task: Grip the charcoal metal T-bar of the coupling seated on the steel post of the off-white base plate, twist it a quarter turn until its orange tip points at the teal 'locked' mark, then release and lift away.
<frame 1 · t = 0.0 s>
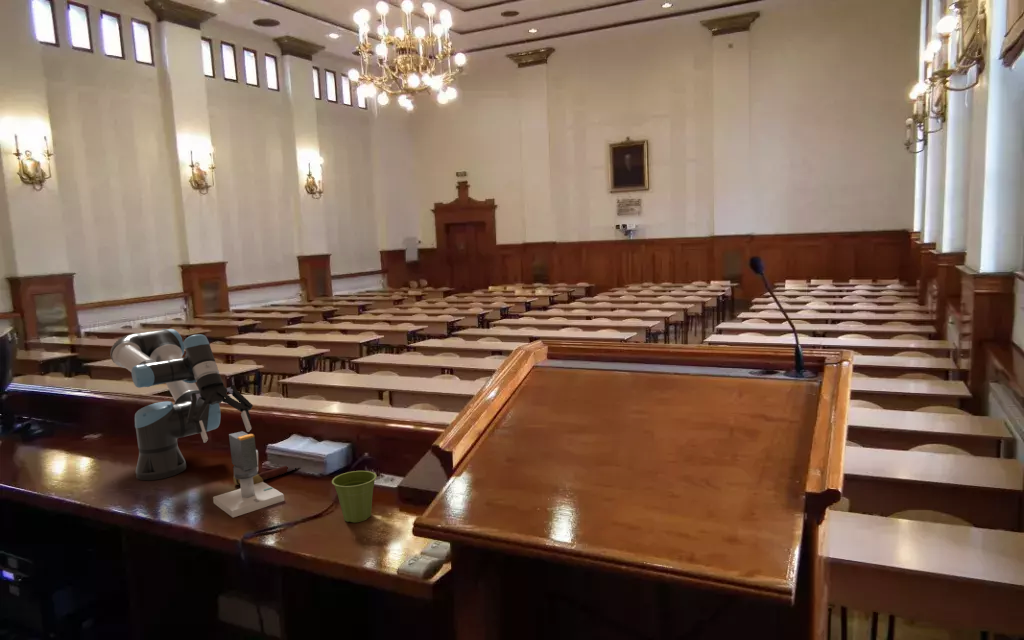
hand: (228, 435, 210), 15 cm above the table, tool tilted 35°, fingers open, 13 cm apart
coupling: (243, 454, 192), point 15 cm above the table, hinge at 0.0°
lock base: (248, 501, 194), on the table
shot glass: (249, 473, 219), on the table
plant pot: (357, 518, 180), on the table
gavel: (272, 479, 213), on the table
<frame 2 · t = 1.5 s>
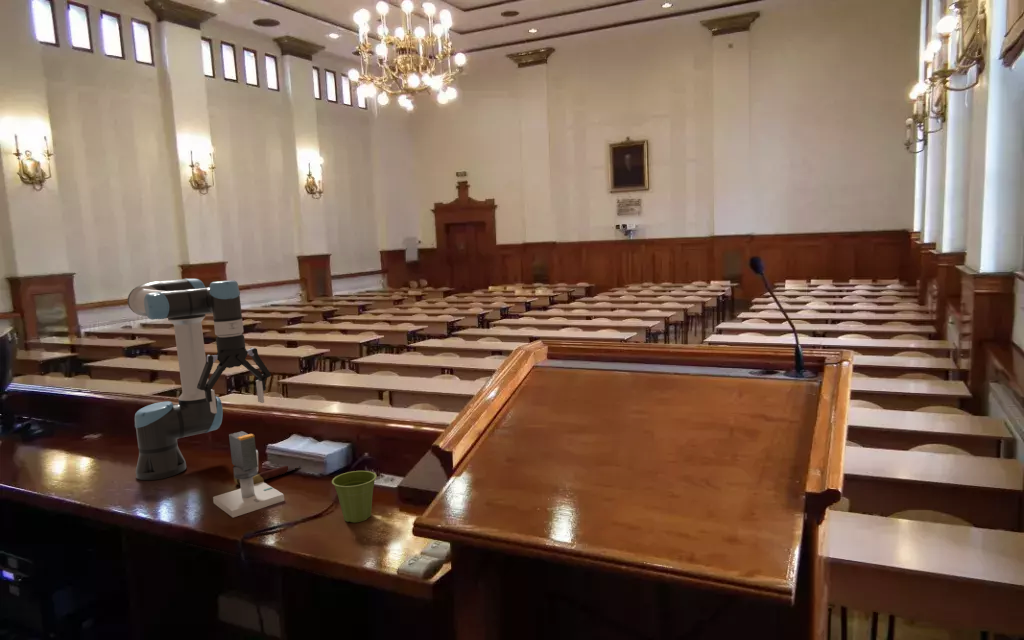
hand: (238, 407, 190), 29 cm above the table, tool pointing down, fingers open, 13 cm apart
nothing on the table moved.
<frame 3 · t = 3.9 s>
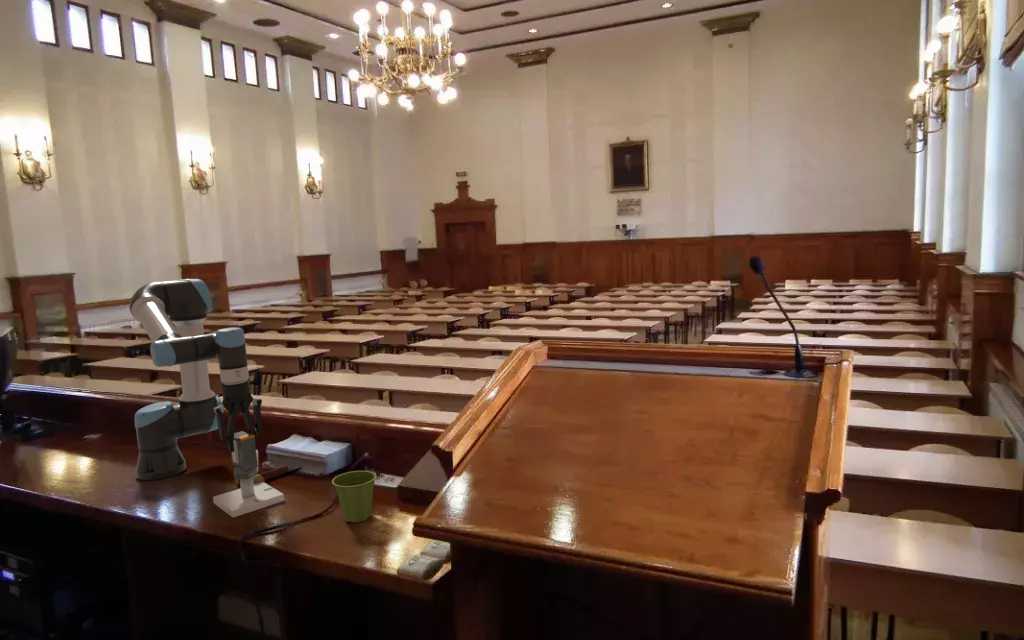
hand: (244, 459, 192), 13 cm above the table, tool pointing down, fingers closed on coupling, 4 cm apart
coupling: (243, 454, 192), point 15 cm above the table, hinge at 0.0°, touching gripper
everything else where it was.
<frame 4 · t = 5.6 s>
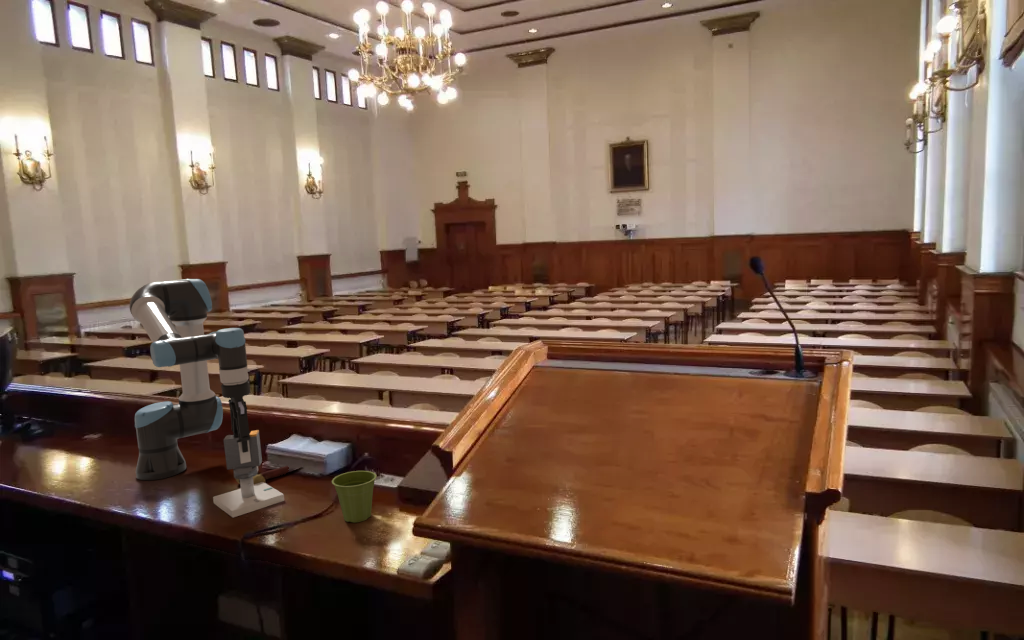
hand: (243, 459, 192), 13 cm above the table, tool pointing down, fingers closed on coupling, 5 cm apart
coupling: (243, 454, 192), point 15 cm above the table, hinge at 58.1°, touching gripper
everything else where it was.
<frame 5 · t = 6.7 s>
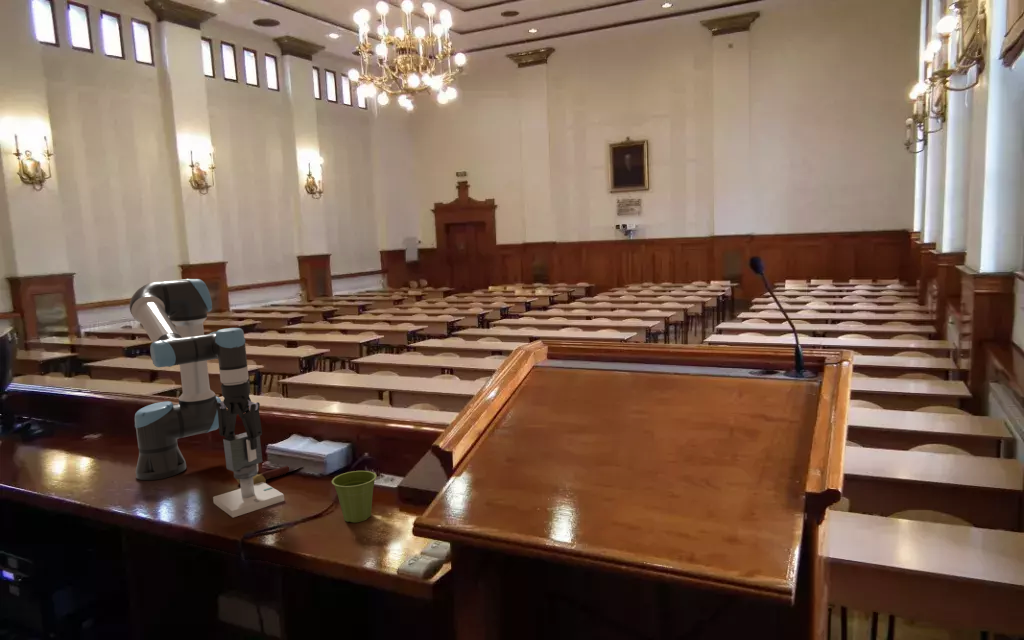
hand: (243, 459, 192), 13 cm above the table, tool pointing down, fingers closed on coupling, 6 cm apart
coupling: (243, 454, 192), point 15 cm above the table, hinge at 97.4°, touching gripper
everything else where it was.
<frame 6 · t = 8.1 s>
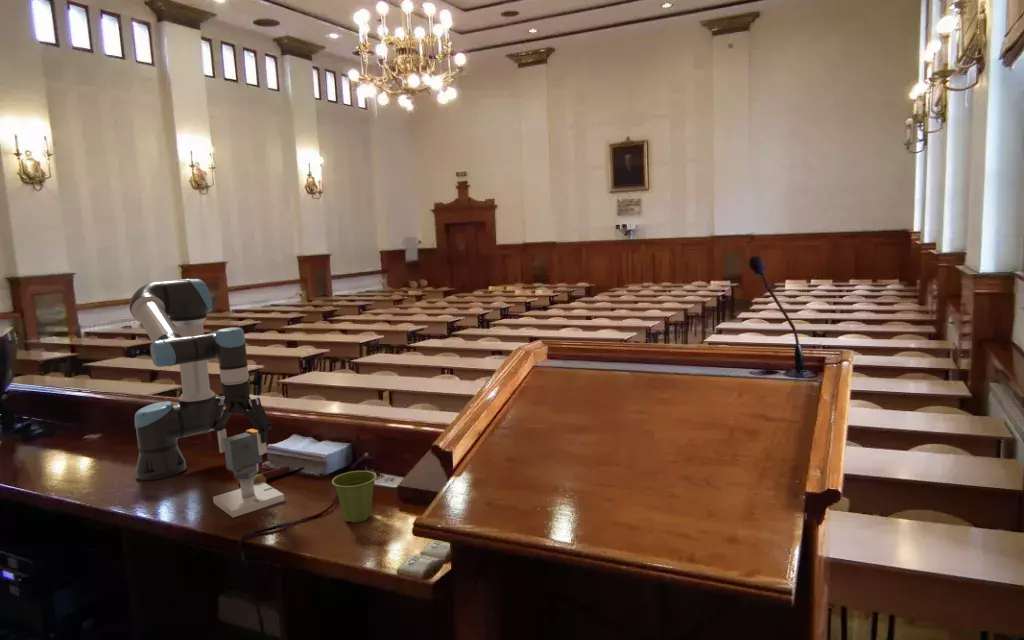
hand: (243, 452, 192), 15 cm above the table, tool pointing down, fingers open, 13 cm apart
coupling: (243, 454, 192), point 15 cm above the table, hinge at 97.7°
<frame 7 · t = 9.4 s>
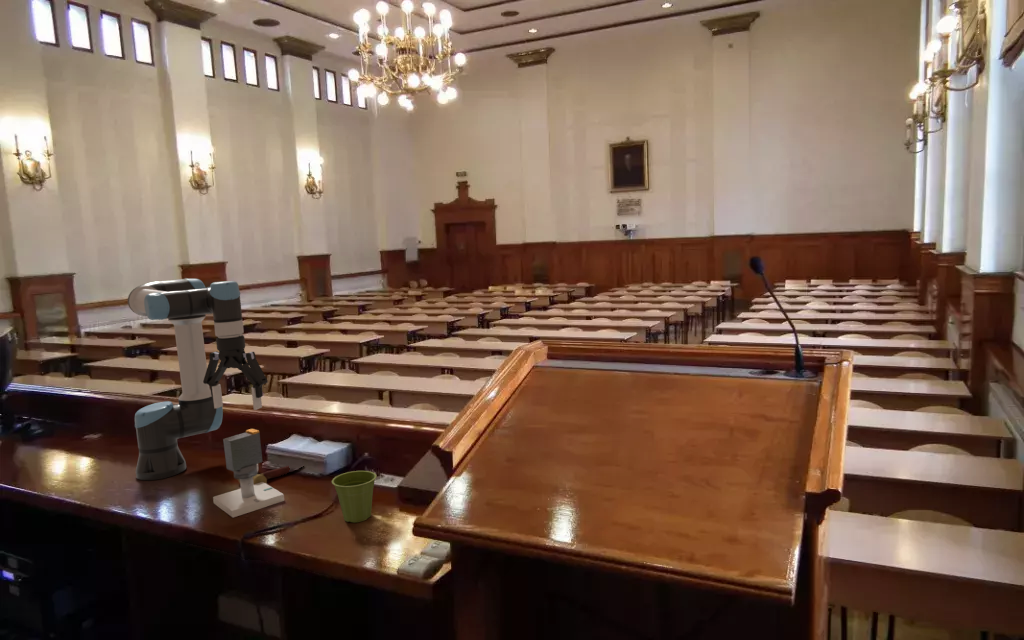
hand: (238, 408, 190), 29 cm above the table, tool pointing down, fingers open, 13 cm apart
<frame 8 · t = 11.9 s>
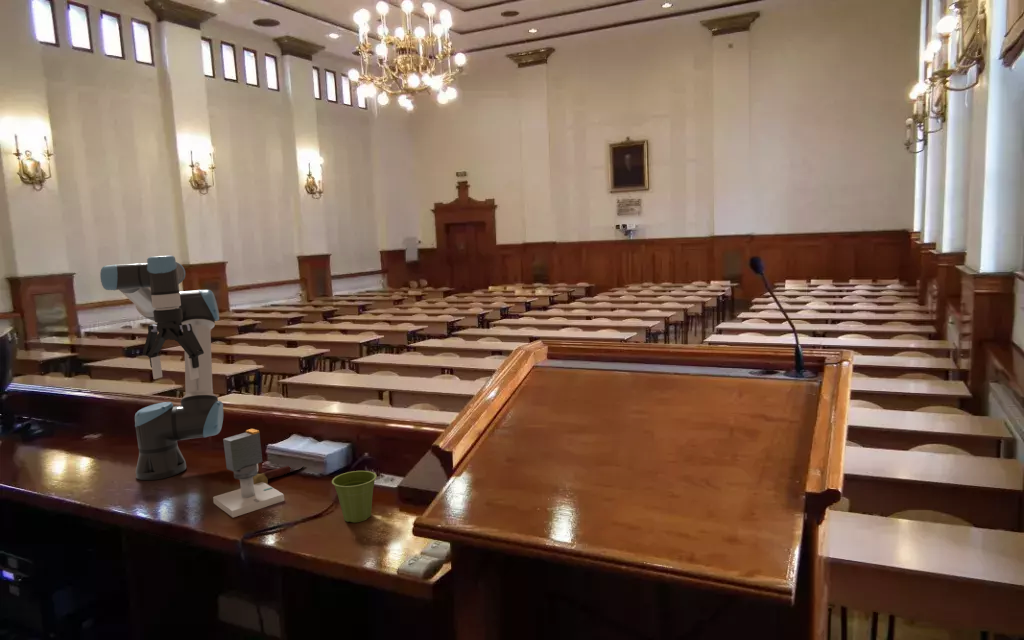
hand: (176, 378, 197), 37 cm above the table, tool pointing down, fingers open, 13 cm apart
at the end: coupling at +98° (first picture: +0°); the gripper is holding nothing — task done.
